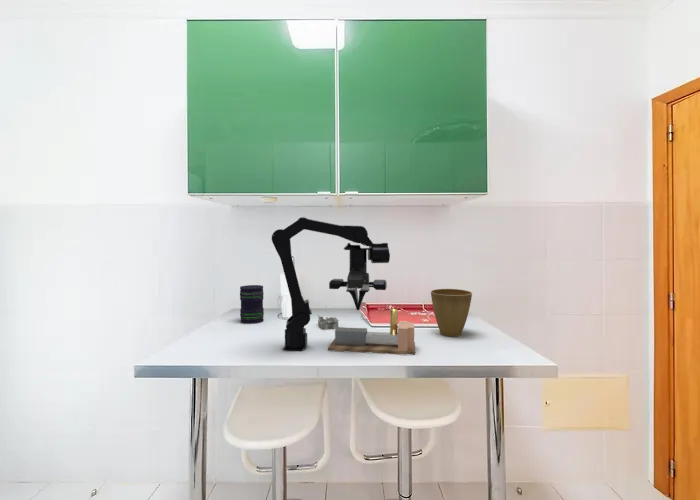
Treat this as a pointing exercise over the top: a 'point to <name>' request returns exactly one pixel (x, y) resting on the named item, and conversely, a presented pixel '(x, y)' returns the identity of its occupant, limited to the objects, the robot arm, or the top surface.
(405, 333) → the terracotta socket
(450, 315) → the plant pot
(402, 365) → the top surface
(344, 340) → the grey rectangular block
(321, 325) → the grey castle model
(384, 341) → the sliding bolt with handle
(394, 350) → the walnut board
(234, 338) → the top surface
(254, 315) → the storage jar
